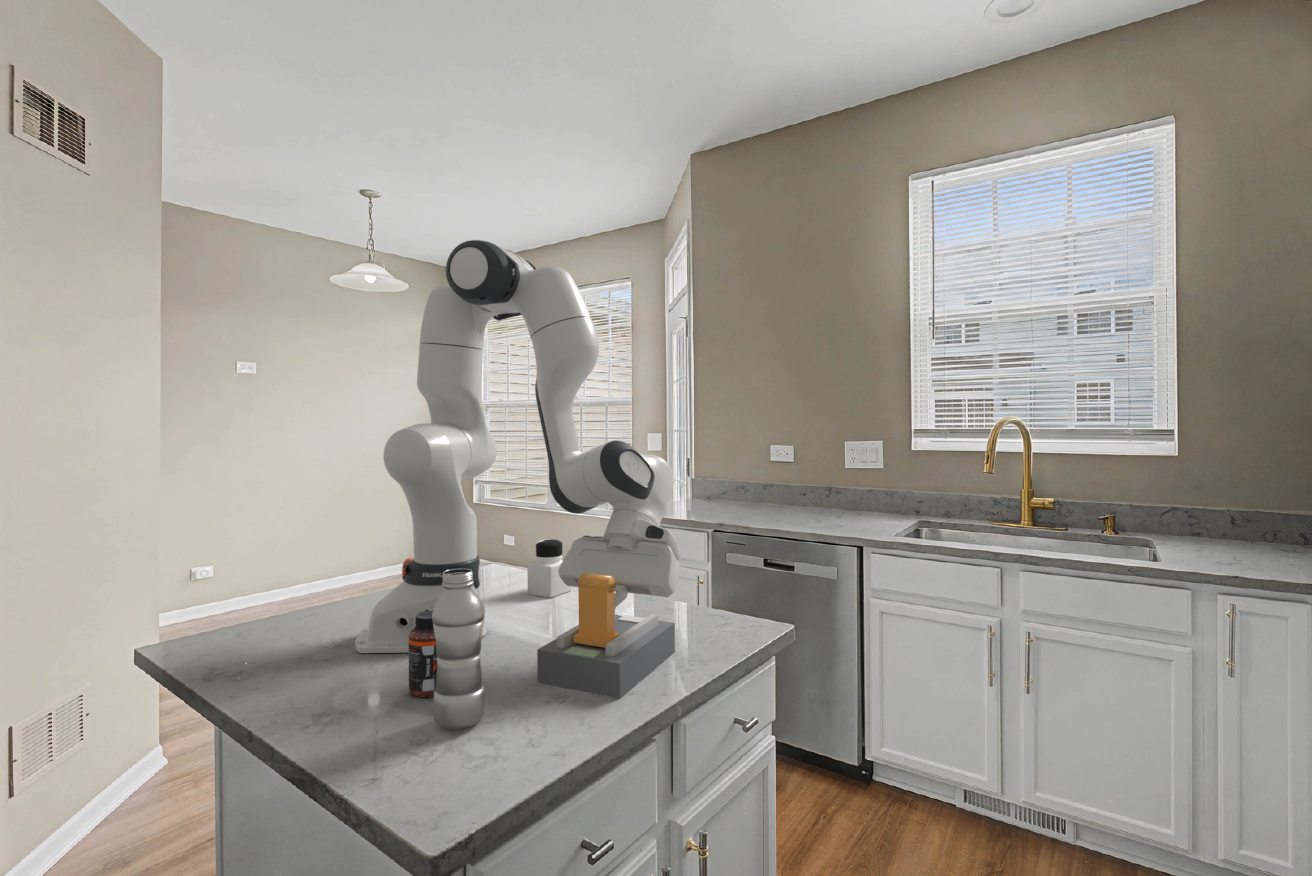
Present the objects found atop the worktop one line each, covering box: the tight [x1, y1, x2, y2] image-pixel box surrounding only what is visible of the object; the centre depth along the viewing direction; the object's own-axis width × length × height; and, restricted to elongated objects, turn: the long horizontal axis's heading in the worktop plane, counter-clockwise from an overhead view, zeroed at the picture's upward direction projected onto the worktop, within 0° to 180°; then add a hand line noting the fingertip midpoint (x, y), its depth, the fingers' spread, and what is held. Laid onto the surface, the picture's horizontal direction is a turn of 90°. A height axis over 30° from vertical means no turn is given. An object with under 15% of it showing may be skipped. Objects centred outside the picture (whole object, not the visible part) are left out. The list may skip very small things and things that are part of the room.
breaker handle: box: [573, 573, 620, 648], centre depth 100 cm, size 4×6×10 cm, turn 65°
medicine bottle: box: [526, 538, 572, 599], centre depth 148 cm, size 7×7×12 cm
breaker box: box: [536, 614, 676, 699], centre depth 104 cm, size 20×14×7 cm
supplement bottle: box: [408, 611, 437, 698], centre depth 95 cm, size 6×6×11 cm
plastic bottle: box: [431, 569, 487, 730], centre depth 84 cm, size 6×7×20 cm
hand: (602, 612), depth 101 cm, fingers closed, pressing on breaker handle
